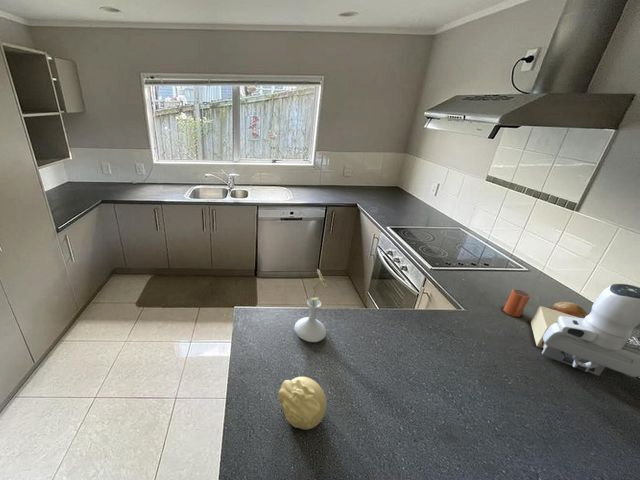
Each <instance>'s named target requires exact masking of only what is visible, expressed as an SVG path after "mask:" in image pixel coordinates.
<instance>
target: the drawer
mask: <svg viewBox="0 0 640 480" xmlns="http://www.w3.org/2000/svg"><path fill="white" fill-rule="evenodd" d="M542 344H543V348H544V349H543V348H542V349H543V350H542V351H541V354H542V355H543V356H546V357H548V358H551V359H553V360H555V361H559V362H561V363H564V364H567V365H569V366H572V367H573V365H572V363H573V361H574V358H573V355H571V354H569V353H566V352H563V351H560V350H558V349H555V348H552V347H549V346H547V345H546V344H545V343H544V341H543V342H542ZM577 360H578V359H577ZM578 361H579V362H582V363H587V362H590V361H588V360H585V359H583V358H581V360H578ZM605 369H606V367H605V366H602V365H598V367H595V368H591V369H590V368H589V370H588V371H587V372H586V373H590V374H592V375H596V376H598V377H599V376H601V374H602V373H603V371H604V370H605Z"/></svg>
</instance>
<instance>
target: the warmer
mask: <svg viewBox="0 0 640 480" xmlns="http://www.w3.org/2000/svg"><path fill="white" fill-rule="evenodd" d="M560 316H565V317H573V318H578V317H575V316H572V315H569V314H565V313H562V312H559V311H556V310H553V309H552V308H550V307H546V306H543V305H539V306H538V308H537V310H536V312H535V314H534V316H533V317H532V319H531V321H530V325H531V330H532V334H533V337H534V342H535V345H536V347H537V348H540V349H544V348H543V344H542V342H543V335H544V333H545V332H546V331H547V329H548V328H549V327H550V326H551V325H552V324H554V323H558V318H559V317H560Z"/></svg>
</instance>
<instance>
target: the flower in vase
mask: <svg viewBox="0 0 640 480" xmlns="http://www.w3.org/2000/svg"><path fill="white" fill-rule="evenodd" d="M316 272H317V275H318V277H319V280H318V281H317V283H316V284H315V286H312V291H313V293H312V295H313V296H312V297H311V298H308V299H307V300H306V304H307V305H308V308H309V312H308V313H309V314H308V317H307V316H306V317H302V318H300V319H298V320H297V321H296V322H295V324H294V332H295V334H296V335H297V336H298V337H299V338H300V339H301V340H303V341H306V342H308V343H318V342H321V341H322V340H324V339H325V337H326V336H327V329H326V327H325V325H324V324H323V323H322V322H321V321H320V320H318V319H317V318H316V315H317V312H318V309H320V308H321V306H322V302H321V301H320V300H319V299H320V297H319V296H316V297H315V294H317V293H316V292H317V291H316V288H317V286H318V285H319V283H322V285H323V287H324V289H325V290H326V292H329V286H328V285H327V282H326V280H325V278H324V277H323V274H322V273H321V270H320V269H316Z"/></svg>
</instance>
